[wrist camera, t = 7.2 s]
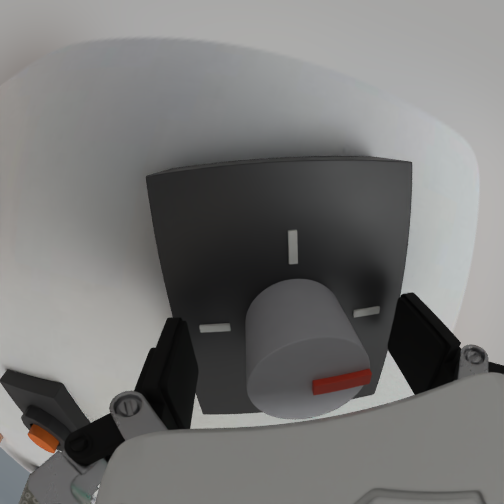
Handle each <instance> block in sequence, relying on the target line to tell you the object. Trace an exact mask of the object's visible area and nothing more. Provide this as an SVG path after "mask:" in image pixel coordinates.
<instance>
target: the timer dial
mask: <svg viewBox="0 0 504 504" xmlns="http://www.w3.org/2000/svg"><path fill="white" fill-rule="evenodd" d="M245 330H246V381H247V393H248V396H249V398H250V400H251V402H252V403H253V404H254V405H255V406H256V407H257V408H258V409H259V410H261V411H262V412H264V413H266V414H268V415H271V416H274V417H278V418H283V419H306V418H312V417H316V416H320V415H323V414H326V413H329V412H331V411H333V410H335V409H337V408H339V407H341V406H342V405H344V404H345V403H347V402H348V401H350V400H351V399H352V398H353V397H354V396H355V395H356V394H357V393H358V392H359V391H360V390H361V389H362V387H363V386H364V385H366V384H369V383H370V380H371V376H372V373H371V371H370V361H369V357H368V355H367V353H366V351H365V349H364V347H363V345H362V344H361V342H360V340H359V338H358V336H357V334H356V332H355V331H354V329H353V327H352V325H351V323H350V322H349V320H348V318H347V316H346V314H345V313H344V311H343V309H342V307H341V306H340V304H339V302H338V300H337V299H336V297H335V295H334V294H333V293H332V291H331V290H329V289H328V288H327V287H326V286H324V285H323V284H320V283H318V282H316V281H312V280H308V279H290V280H285V281H281V282H278V283H276V284H274V285H271V286H270V287H268V288H266V289H265V290H264V291H262V292H261V293H260V294H259V295H258V296H257V297H256V298H255V299H254V300H253V302H252V303H251V305H250V307H249V309H248V311H247V315H246V321H245Z"/></svg>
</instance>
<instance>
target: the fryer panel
mask: <svg viewBox="0 0 504 504" xmlns="http://www.w3.org/2000/svg"><path fill="white" fill-rule="evenodd" d="M146 182H147V190H148V196H149V203H150V209H151V216H152V222H153V227H154V233H155V238H156V244H157V249H158V254H159V259H160V263H161V268H162V273H163V277H164V282H165V286H166V290H167V295H168V299H169V303H170V307H171V311H172V315H173V318H176V317H181V318H182V321H186V322H187V325H188V329H189V333H190V337H191V341H192V345H193V349H194V353H195V356H196V360H197V364H198V369H199V374H198V380H197V386H196V395H197V398H198V401H199V404H200V407H201V409H202V412H203V414H242V413H259V412H262V411H261V410H259V409H258V408H257V407H256V406H255V405H254V404H253V403H252V402H251V400H250V398H249V396H248V393H247V381H246V330H245V321H246V315H247V311H248V309H249V307H250V305H251V303H252V302H253V300H254V299H255V298H256V297H257V296H258V295H259V294H260V293H261V292H262V291H264V290H265V289H266V288H268V287H270V286H271V285H274V284H276V283H278V282H281V281H285V280H290V279H308V280H312V281H316V282H318V283H320V284H323V285H324V286H326V287H327V288H328V289H329V290H331V291H332V293H333V294H334V295H335V297H336V299H337V300H338V302H339V304H340V306H341V307H342V309H343V311H344V313H345V314H346V316H347V318H348V320H349V322H350V323H351V325H352V327H353V329H354V331H355V332H356V334H357V336H358V338H359V340H360V342H361V344H362V345H363V347H364V349H365V351H366V353H367V355H368V357H369V361H370V371H371V373H372V376H371V380H370V383H369V384H366V385H364V386H363V387H362V389H361V390H360V391H359V392H358V393H357V394H356V395H355V396H354V397H353V398H352V399H355V398H359V397H364V396H368V395H372V394H374V393H375V390H376V387H377V384H378V381H379V378H380V375H381V372H382V368H383V365H384V361H385V358H386V354H387V351H388V340H389V336H390V332H391V328H392V323H393V319H394V314H395V310H396V305H397V300H398V298H400V293H401V288H402V282H403V275H404V269H405V262H406V254H407V246H408V237H409V226H410V213H411V195H412V162H409V161H402V160H395V159H387V158H379V157H363V156H313V157H284V158H266V159H252V160H240V161H229V162H219V163H210V164H201V165H193V166H186V167H178V168H172V169H168V170H165V171H161V172H158V173H154V174H151V175H148V176H146Z"/></svg>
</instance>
